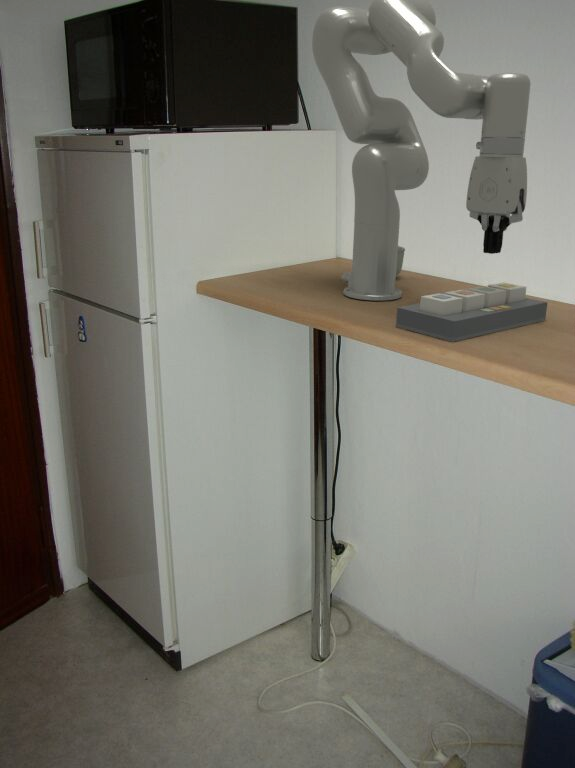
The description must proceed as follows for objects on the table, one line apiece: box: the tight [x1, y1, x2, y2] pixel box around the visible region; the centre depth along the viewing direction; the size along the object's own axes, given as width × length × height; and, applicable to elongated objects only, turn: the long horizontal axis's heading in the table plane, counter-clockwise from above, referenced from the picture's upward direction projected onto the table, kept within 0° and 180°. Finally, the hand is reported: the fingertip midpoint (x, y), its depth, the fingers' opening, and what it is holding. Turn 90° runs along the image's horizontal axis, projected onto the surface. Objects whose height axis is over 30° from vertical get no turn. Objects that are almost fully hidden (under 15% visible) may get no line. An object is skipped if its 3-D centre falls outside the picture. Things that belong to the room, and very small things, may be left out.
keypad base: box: [395, 297, 548, 343], centre depth 142 cm, size 13×28×4 cm, turn 130°
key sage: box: [466, 285, 506, 307], centre depth 144 cm, size 5×5×3 cm
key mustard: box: [487, 282, 527, 303], centre depth 148 cm, size 5×5×3 cm
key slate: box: [419, 293, 463, 316], centre depth 136 cm, size 5×5×3 cm
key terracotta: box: [443, 289, 485, 312], centre depth 140 cm, size 5×5×3 cm
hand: (491, 252), depth 141 cm, fingers closed
